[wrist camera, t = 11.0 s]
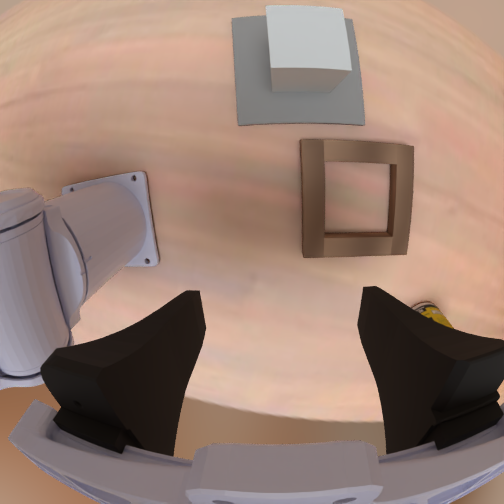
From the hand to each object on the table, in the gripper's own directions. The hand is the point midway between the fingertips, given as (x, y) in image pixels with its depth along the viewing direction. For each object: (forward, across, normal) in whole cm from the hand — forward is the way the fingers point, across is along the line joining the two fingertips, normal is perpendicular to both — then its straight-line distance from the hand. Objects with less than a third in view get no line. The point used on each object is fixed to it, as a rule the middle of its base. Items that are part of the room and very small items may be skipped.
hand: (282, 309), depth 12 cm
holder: (+10, -6, -3) cm, 12 cm away
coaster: (+10, -2, -13) cm, 16 cm away
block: (+9, -2, -13) cm, 16 cm away
